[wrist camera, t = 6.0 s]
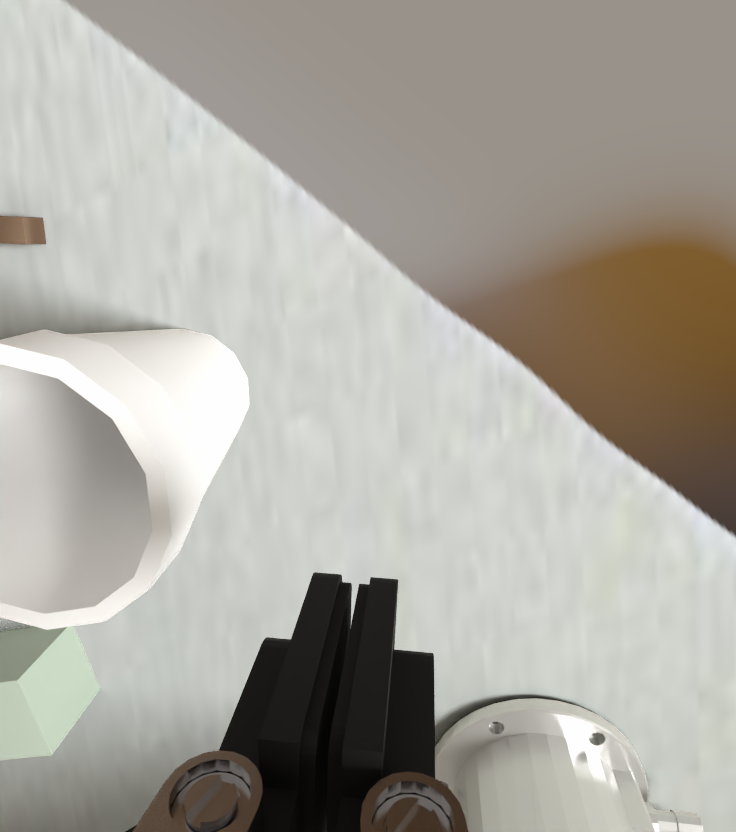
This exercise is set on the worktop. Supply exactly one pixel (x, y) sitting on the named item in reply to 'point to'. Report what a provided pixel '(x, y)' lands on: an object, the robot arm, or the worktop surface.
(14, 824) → the worktop surface
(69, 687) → the sage painted block
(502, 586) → the worktop surface
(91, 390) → the foam cup
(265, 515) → the worktop surface
